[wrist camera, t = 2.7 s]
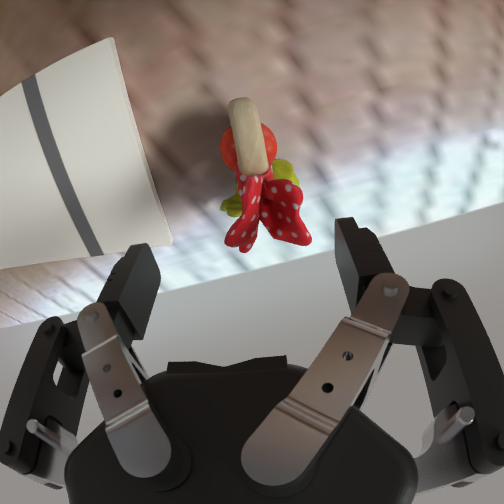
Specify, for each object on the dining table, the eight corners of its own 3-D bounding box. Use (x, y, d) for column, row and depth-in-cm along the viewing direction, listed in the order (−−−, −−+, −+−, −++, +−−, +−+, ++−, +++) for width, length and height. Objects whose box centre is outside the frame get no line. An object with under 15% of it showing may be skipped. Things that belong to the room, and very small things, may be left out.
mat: (-58, 145, 19) (-63, 148, 18) (113, 37, 16) (108, 37, 15) (0, 265, 30) (-4, 270, 29) (173, 239, 27) (171, 245, 26)
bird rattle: (204, 125, 23) (229, 233, 25) (146, 96, 12) (188, 280, 14) (281, 107, 22) (305, 218, 24) (278, 59, 11) (321, 256, 13)
